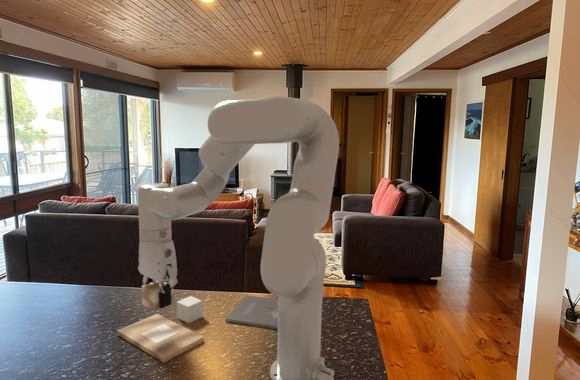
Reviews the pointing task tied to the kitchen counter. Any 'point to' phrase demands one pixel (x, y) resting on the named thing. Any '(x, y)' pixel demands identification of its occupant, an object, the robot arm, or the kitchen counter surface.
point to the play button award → (255, 312)
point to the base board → (160, 337)
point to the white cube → (189, 309)
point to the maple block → (153, 295)
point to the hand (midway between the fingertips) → (157, 301)
